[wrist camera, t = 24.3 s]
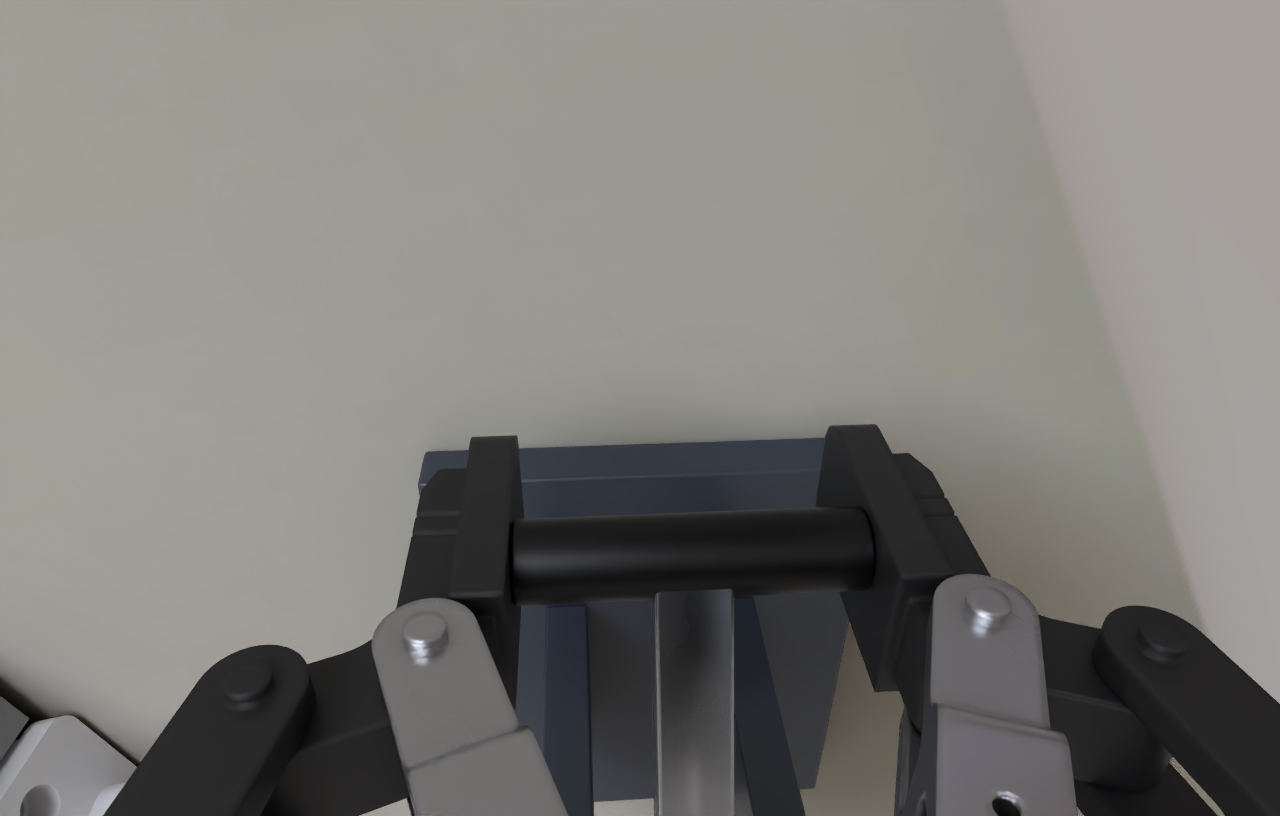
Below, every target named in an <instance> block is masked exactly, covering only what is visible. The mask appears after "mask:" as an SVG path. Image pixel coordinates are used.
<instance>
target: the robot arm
mask: <svg viewBox="0 0 1280 816" xmlns="http://www.w3.org/2000/svg"><path fill="white" fill-rule="evenodd" d="M837 506H859V507H862V508H863V509H864V510H865V511H866V513H867V515H868V517H869V519H870V522H871V525H872V529H873V533H874V539H875V547H876V568H875V575H874V579H873V582H872V585H871V586H870V587H869V588H868V589H866V590H864V591H846V592H839V593H840V595H841V598H842V601H843V604H844V607H845V610H846V612H847V615H848V618H849V621H850V624H851V626H852V629H853V632H854V635H855V638H856V641H857V643H858V646H859V649H860V652H861V655H862V657H863V660H864V663H865V666H866V669H867V672H868V674H869V677H870V680H871V683H872V686H873V688H874V691H875V692H884V691H900V694H901V696H902V699H903V702H904V704H905V706H904V710H903V714H902V717H901V722H900V731H899V746H898V762H897V777H896V793H895V808H894V816H1078V813H1077V807H1078V808H1079V810H1080V811H1081V812H1082V814H1083V815H1084V816H1217V815H1216V813H1215V812H1214V811H1213V810H1212V809H1211V808H1210V807H1209V806H1208V805H1207V804H1206V802H1205V801H1204V800H1203V799H1202V798H1201V797H1200V796H1199V795H1198V794H1197V793H1196V791H1195V790H1194V789H1193V788H1192V787H1191V786H1190V785H1189V784H1188V783H1187V782H1186V780H1185V779H1184V778H1183V777H1182V776H1181V775H1180V774H1179V773H1178V772H1177V770H1176V769H1175V768H1174V767H1173V766H1172V765H1171V764H1170V763H1169V762H1170V760H1171V759H1172V757H1174V758H1175V759H1176V760H1177V761H1178V763H1179V764H1180V765H1181V766H1182V767H1183V768H1184V769H1185V770H1186V771H1187V772H1188V773H1189V775H1190V776H1191V777H1192V778H1193V779H1194V780H1195V781H1196V782H1197V783H1198V784H1199V785H1200V787H1201V788H1202V789H1203V790H1204V791H1205V792H1206V793H1207V794H1208V795H1209V796H1210V797H1211V798H1212V800H1213V801H1214V802H1215V803H1216V804H1217V805H1218V806H1219V808H1220V809H1221V810H1222V812H1223V813H1224V815H1225V816H1280V704H1279V703H1278V702H1277V701H1276V700H1275V699H1273V697H1271V696H1270V695H1269V694H1268V693H1267V692H1266V691H1265V690H1264V689H1263V688H1261V686H1259V685H1258V684H1257V683H1256V682H1255V681H1254V680H1253V679H1252V678H1251V677H1250V676H1248V675H1247V674H1246V673H1245V672H1244V671H1243V670H1242V669H1241V668H1240V667H1239V666H1238V665H1236V664H1235V663H1234V662H1233V661H1232V660H1231V659H1230V658H1229V657H1228V656H1227V655H1226V654H1225V653H1223V652H1222V651H1221V650H1220V649H1219V648H1218V647H1217V646H1216V645H1215V644H1214V643H1213V642H1211V641H1210V640H1209V639H1208V638H1207V637H1206V636H1205V635H1204V634H1203V633H1202V632H1200V631H1199V630H1198V629H1197V628H1195V627H1194V626H1193V625H1191V624H1190V623H1188V622H1187V621H1185V620H1183V619H1181V618H1179V617H1178V616H1176V615H1173V614H1171V613H1169V612H1166V611H1163V610H1160V609H1156V608H1152V607H1146V606H1126V607H1121V608H1118V609H1115V610H1114V611H1112V612H1111V613H1110V614H1109V615H1108V616H1107V617H1106V619H1105V621H1104V623H1103V625H1102V628H1101V629H1099V628H1094V627H1088V626H1083V625H1078V624H1073V623H1068V622H1063V621H1058V620H1054V619H1050V618H1046V617H1043V616H1041V615H1038V613H1037V611H1036V609H1035V607H1034V606H1033V604H1032V603H1031V601H1030V600H1029V599H1028V598H1027V597H1026V596H1025V595H1024V594H1023V593H1021V592H1020V591H1019V590H1018V589H1016V588H1014V587H1013V586H1011V585H1009V584H1007V583H1005V582H1003V581H1001V580H998V579H996V578H993V577H991V576H990V574H989V573H988V571H987V569H986V567H985V565H984V564H983V562H982V560H981V558H980V557H979V555H978V553H977V551H976V549H975V548H974V546H973V544H972V542H971V541H970V539H969V537H968V535H967V533H966V532H965V530H964V528H963V526H962V525H961V523H960V521H959V519H958V517H957V516H954V510H953V509H952V507H951V505H950V503H949V501H948V500H947V498H944V493H943V491H942V489H941V487H940V485H939V484H938V482H937V480H936V478H935V477H934V475H933V473H932V472H931V471H930V470H929V469H928V468H926V467H925V466H924V465H923V464H921V463H920V462H919V461H918V460H916V459H915V458H914V457H913V456H912V455H910V454H909V453H901V454H892V452H891V450H890V448H889V447H888V445H887V443H886V441H885V439H884V437H883V435H882V433H881V431H880V429H879V428H878V426H877V425H875V424H870V425H840V426H830V427H829V428H828V430H827V433H826V438H825V444H824V451H823V457H822V464H821V470H820V477H819V484H818V490H817V497H816V507H837ZM516 519H524V507H523V495H522V483H521V471H520V458H519V447H518V439H517V436H488V437H472V438H471V441H470V447H469V454H468V460H467V467H466V468H457V469H439V470H438V471H437V472H436V473H435V475H434V476H433V477H432V478H431V479H430V481H429V482H428V483H427V484H426V485H425V487H424V488H423V489H422V490H421V495H420V499H419V504H418V509H417V518H415V523H414V528H413V537H411V542H410V547H409V552H408V556H407V561H406V566H405V571H404V575H403V580H402V585H401V589H400V594H399V599H398V604H397V607H396V610H394V611H393V612H391V613H390V614H389V615H387V616H386V617H385V618H384V619H383V620H382V622H381V623H380V624H379V625H378V627H377V629H376V630H375V632H374V635H373V638H372V640H370V641H368V642H367V643H365V644H364V645H362V646H360V647H358V648H356V649H354V650H351V651H348V652H346V653H343V654H340V655H336V656H333V657H330V658H327V659H323V660H320V661H317V662H313V663H310V664H306V662H305V660H304V659H303V658H302V656H301V655H300V654H298V653H297V652H295V651H294V650H292V649H289V648H287V647H283V646H279V645H259V646H254V647H249V648H246V649H243V650H240V651H237V652H235V653H233V654H231V655H229V656H227V657H225V658H223V659H222V660H220V661H219V662H217V663H216V664H215V665H213V666H212V667H211V668H210V669H209V670H208V671H207V672H206V673H205V674H204V675H203V676H202V677H201V678H200V680H199V681H198V682H197V684H196V685H195V687H194V688H193V689H192V691H191V692H190V694H189V695H188V696H187V698H186V699H185V701H184V702H183V703H182V705H181V706H180V708H179V709H178V710H177V712H176V713H175V715H174V716H173V718H172V719H171V720H170V722H169V723H168V725H167V726H166V727H165V729H164V730H163V732H162V733H161V734H160V736H159V737H158V739H157V740H156V741H155V743H154V744H153V746H152V747H151V748H150V750H149V751H148V753H147V754H146V756H145V757H144V758H143V760H142V761H141V763H140V764H139V765H138V767H137V768H136V770H135V771H134V772H133V774H132V775H131V777H130V778H129V779H128V781H127V782H126V784H125V785H124V786H123V788H122V789H121V791H120V792H119V794H118V795H117V796H116V798H115V799H114V801H113V802H112V803H111V805H110V806H109V808H108V809H107V810H106V812H105V813H104V815H103V816H359V815H362V814H364V813H367V812H370V811H373V810H375V809H378V808H381V807H383V806H386V805H389V804H392V803H394V802H397V801H400V800H402V799H405V798H406V799H407V802H408V806H409V810H410V814H411V816H568V814H567V811H566V809H565V806H564V804H563V802H562V799H561V797H560V795H559V792H558V790H557V788H556V785H555V783H554V780H553V778H552V776H551V773H550V771H549V769H548V766H547V764H546V761H545V759H544V757H543V754H542V752H541V750H540V747H539V745H538V743H537V740H536V738H535V736H534V734H533V732H532V731H531V729H530V728H529V726H527V725H525V726H522V727H521V725H520V723H519V721H518V719H517V717H516V714H515V712H514V710H516V695H517V676H518V657H519V638H520V620H521V606H516V605H514V604H513V602H512V596H511V587H510V567H509V543H510V528H511V523H512V521H513V520H516Z"/></svg>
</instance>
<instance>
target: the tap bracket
mask: <svg viewBox="0 0 1280 816" xmlns="http://www.w3.org/2000/svg"><path fill="white" fill-rule="evenodd" d="M824 444H825V438H815V439H786V440H757V441H728V442H699V443H670V444H641V445H612V446H583V447H554V448H525V449H519V458H520V471H521V483H522V495H523V507H524V519H532V518H558V517H583V516H609V515H634V514H659V513H685V512H710V511H735V510H761V509H786V508H811V507H816V497H817V490H818V484H819V477H820V470H821V464H822V457H823V451H824ZM468 454H469V450H467V451H438V452H426V453H425V455H424V459H423V464H422V468H421V473H420V478H419V482H418V489H419V494H420V495H421V490H422V489H423V488H424V487H425V485H426V484H427V483H428V482H429V481H430V479H431V478H432V477H433V476H434V475H435V473H436V472H437V471H438V470H439V469H457V468H466V467H467V460H468ZM848 622H849V618H848V615H847V612H846V610H845V607H844V604H843V601H842V598H841V595H840V593H839V592H824V593H802V594H780V595H758V596H736V597H734V816H806V815H805V811H804V807H803V803H802V798H801V794H800V789H813V788H815V784H816V780H817V775H818V770H819V765H820V760H821V755H822V750H823V745H824V740H825V735H826V730H827V725H828V721H829V716H830V711H831V706H832V701H833V696H834V691H835V686H836V681H837V676H838V671H839V666H840V662H841V657H842V652H843V647H844V642H845V637H846V632H847V627H848ZM514 712H515V714H516V717H517V719H518V721H519V723H520V725H521V727H522V726H525V725H527V726H529V728H530V729H531V731H532V732H533V734H534V736H535V738H536V740H537V743H538V745H539V747H540V750H541V752H542V754H543V757H544V759H545V761H546V764H547V766H548V769H549V771H550V773H551V776H552V778H553V780H554V783H555V785H556V788H557V790H558V792H559V795H560V797H561V799H562V802H563V804H564V806H565V809H566V811H567V814H568V816H594V802H599V801H616V800H633V799H649V798H654V780H653V728H652V676H651V623H650V600H648V601H626V602H604V603H583V604H561V605H539V606H521V620H520V638H519V657H518V676H517V695H516V710H514Z"/></svg>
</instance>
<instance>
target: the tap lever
mask: <svg viewBox="0 0 1280 816" xmlns="http://www.w3.org/2000/svg"><path fill="white" fill-rule="evenodd" d="M509 567H510V587H511V596H512V602H513V604H514V605H516V606H539V605H561V604H583V603H604V602H626V601H648V600H650V623H651V676H652V728H653V780H654V816H734V597H736V596H758V595H780V594H802V593H824V592H846V591H864V590H866V589H868V588H869V587H870V586H871V585H872V582H873V579H874V575H875V568H876V547H875V539H874V533H873V529H872V525H871V522H870V519H869V517H868V515H867V513H866V511H865V510H864V509H863V508H862V507H859V506H837V507H811V508H786V509H761V510H735V511H710V512H685V513H659V514H634V515H609V516H583V517H558V518H532V519H516V520H513V521H512V523H511V528H510V543H509Z"/></svg>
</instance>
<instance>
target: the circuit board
mask: <svg viewBox="0 0 1280 816" xmlns="http://www.w3.org/2000/svg"><path fill="white" fill-rule="evenodd" d="M28 720H29V718H28V717H27V716H25V715H24V714H23V713H21V712H20V711H19V710H18V709H16V708H15V707H14V706H12V705H11V704H10V703H9V702H7V701H6V700H5V699H3V698H2V697H1V696H0V816H103V815H104V813H105V812H106V810H107V809H108V808H109V806H110V805H111V803H112V802H113V801H114V799H115V798H116V796H117V795H118V794H119V792H120V791H121V789H122V788H123V786H124V785H125V784H126V782H127V781H128V779H129V778H130V777H131V775H132V774H133V772H134V771H135V770H136V768H137V767H136V766H135V765H134V764H133V763H131V762H130V761H129V760H128V759H126V758H125V757H124V756H123V755H121V754H120V753H119V752H118V751H116V750H115V749H114V748H113V747H112V746H110V745H109V744H108V743H107V742H105V741H104V740H103V739H102V738H100V737H99V736H98V735H97V734H95V733H94V732H93V731H92V730H91V729H89V728H88V727H87V726H86V725H84V724H83V723H82V722H81V721H79V720H78V719H77V718H75V717H73V716H69V715H65V716H60V717H55V718H50V719H46V720H41V721H37V722H34V723H33V724H31V725H30V726H29V727H28V728H27V729H26V730H25V732H24V733H23V735H22V736H21V737H20V739H18V740H15V739H16V737H17V736H18V734H19V733H20V731H21V730H22V729H23V727H24V726H25V724H26V723H27V721H28Z"/></svg>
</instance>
